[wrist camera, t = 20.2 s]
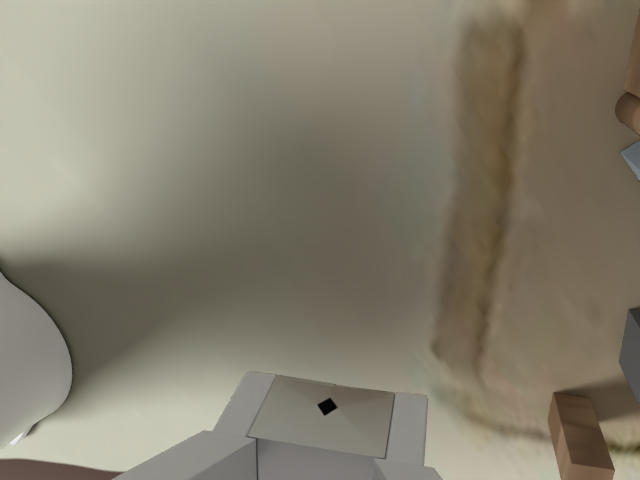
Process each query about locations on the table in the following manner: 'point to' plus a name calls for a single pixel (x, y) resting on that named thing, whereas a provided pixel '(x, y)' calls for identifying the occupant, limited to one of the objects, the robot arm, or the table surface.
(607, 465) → the block
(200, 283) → the table surface
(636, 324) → the block
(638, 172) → the gate
